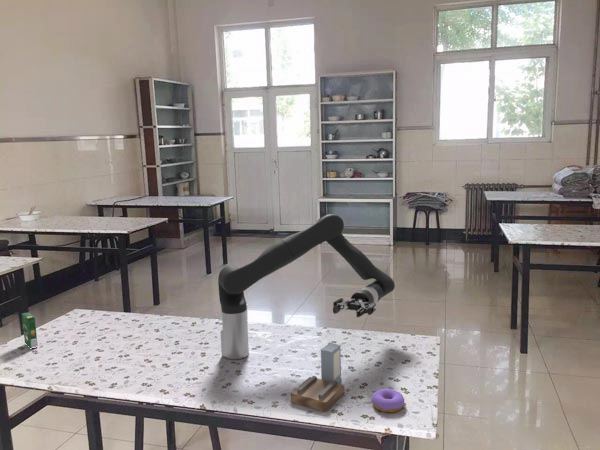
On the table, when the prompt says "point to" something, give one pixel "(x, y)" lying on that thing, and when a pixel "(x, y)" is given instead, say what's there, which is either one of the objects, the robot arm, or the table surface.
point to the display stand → (317, 393)
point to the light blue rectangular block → (331, 363)
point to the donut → (388, 400)
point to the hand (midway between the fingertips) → (345, 312)
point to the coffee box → (29, 329)
